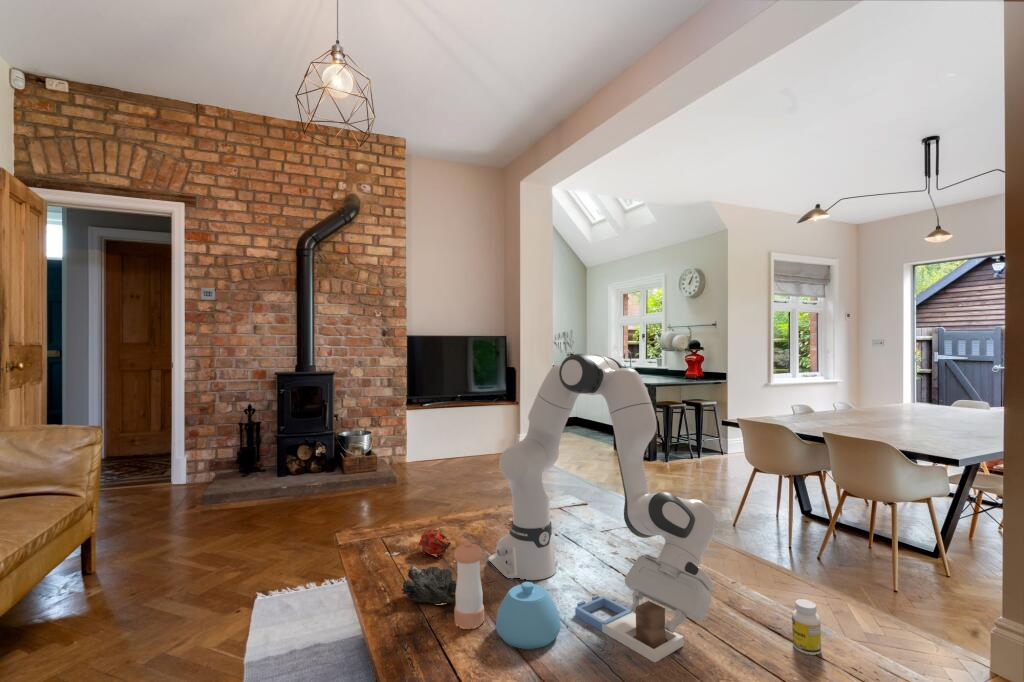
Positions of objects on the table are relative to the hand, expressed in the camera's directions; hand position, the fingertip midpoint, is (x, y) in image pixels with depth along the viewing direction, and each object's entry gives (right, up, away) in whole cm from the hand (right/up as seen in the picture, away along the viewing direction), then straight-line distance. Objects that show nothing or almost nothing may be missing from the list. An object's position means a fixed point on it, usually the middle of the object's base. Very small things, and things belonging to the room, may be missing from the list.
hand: (650, 621), depth 115 cm
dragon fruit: (-56, -7, +52) cm, 77 cm away
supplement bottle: (+33, -5, -3) cm, 34 cm away
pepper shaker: (-41, -6, +10) cm, 43 cm away
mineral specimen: (-52, -6, +22) cm, 57 cm away
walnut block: (0, -5, 0) cm, 5 cm away
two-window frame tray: (-4, -5, +6) cm, 9 cm away
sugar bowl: (-27, -6, +5) cm, 28 cm away
